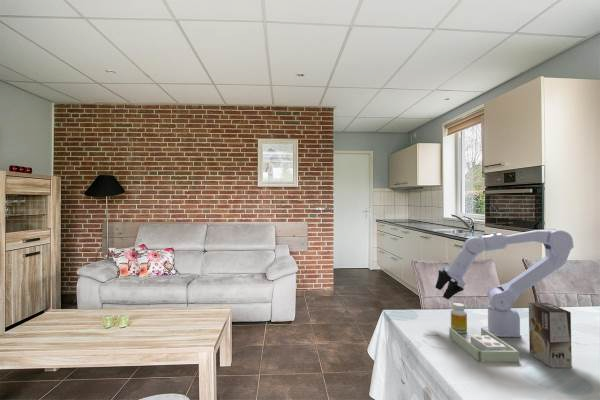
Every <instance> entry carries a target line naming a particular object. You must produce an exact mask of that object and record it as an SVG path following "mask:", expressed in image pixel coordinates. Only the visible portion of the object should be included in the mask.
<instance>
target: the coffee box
mask: <svg viewBox="0 0 600 400" xmlns="http://www.w3.org/2000/svg"><path fill="white" fill-rule="evenodd" d="M571 314H572V313H571V311H570V310H566V309H563V308H561V307H559V306H557V305H553V304H552V303H548V302H528V334H529V335H528V336H529V337H528V340H529V354H530V355H532V356H534V358H536V359H537V360H539V361H541V362H542V363H544V364H545V365H546V366H549V367H550V368H552V369H553V368H556V369H557V368H559V369H560V368H561V369H572V368H573V364H572V361H573V360H572V359H573V358H572V355H573V354H572V319H571V318H572V317H571Z"/></svg>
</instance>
